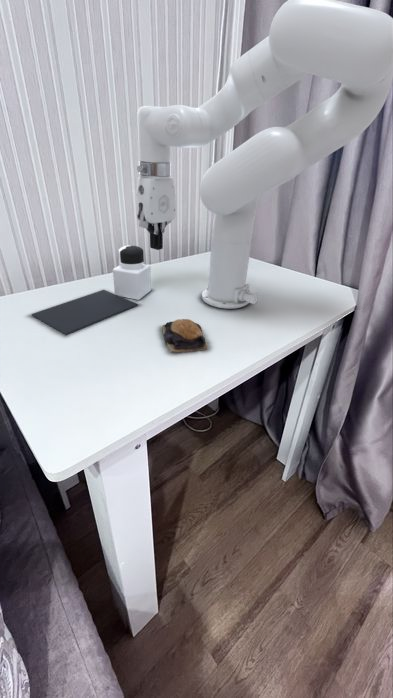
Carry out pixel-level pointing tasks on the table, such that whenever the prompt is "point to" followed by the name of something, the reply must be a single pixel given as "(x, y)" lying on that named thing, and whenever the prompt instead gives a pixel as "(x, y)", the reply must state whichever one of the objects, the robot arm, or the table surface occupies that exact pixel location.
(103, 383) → the table surface
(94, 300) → the mat
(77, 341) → the table surface
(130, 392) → the table surface
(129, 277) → the medicine bottle
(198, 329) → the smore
